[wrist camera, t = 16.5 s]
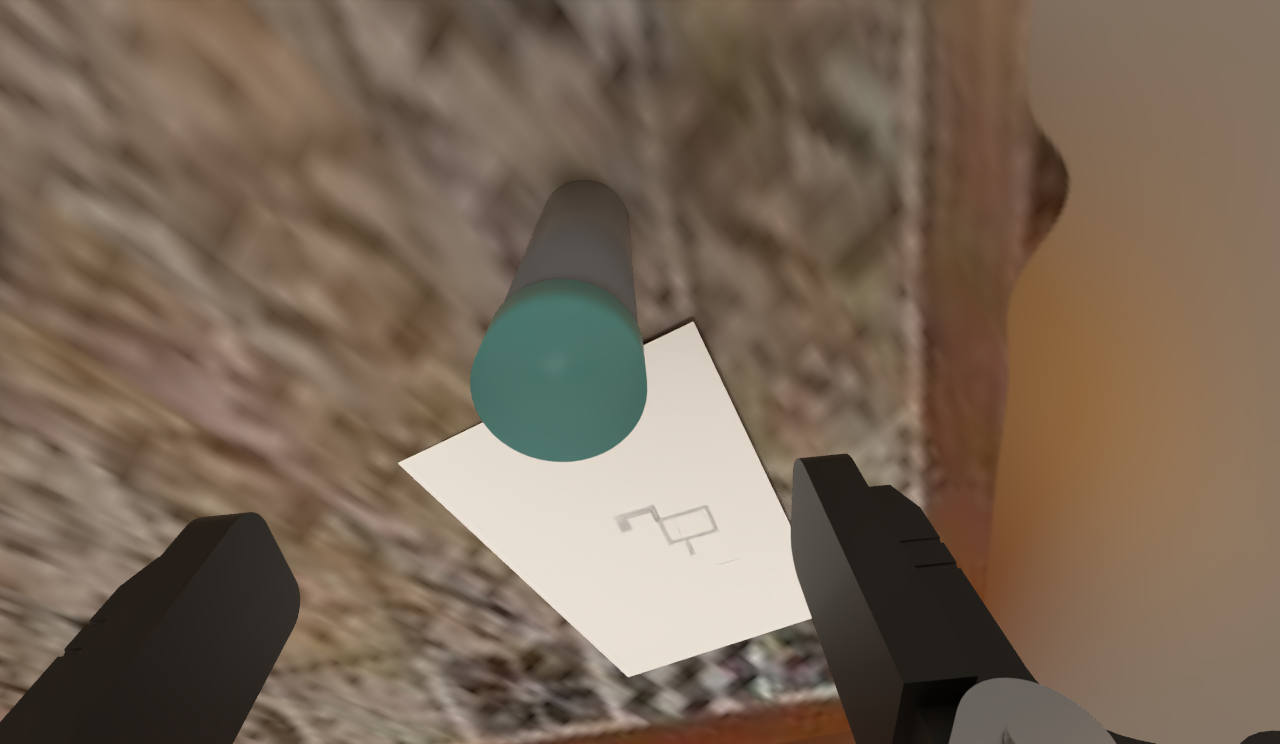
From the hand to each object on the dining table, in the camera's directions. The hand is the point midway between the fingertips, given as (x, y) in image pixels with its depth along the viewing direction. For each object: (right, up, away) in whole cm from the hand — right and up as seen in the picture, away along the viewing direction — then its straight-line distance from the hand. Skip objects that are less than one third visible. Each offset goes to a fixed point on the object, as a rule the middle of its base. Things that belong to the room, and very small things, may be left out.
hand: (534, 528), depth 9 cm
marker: (-1, +8, +16) cm, 18 cm away
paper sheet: (-4, -9, +26) cm, 27 cm away
